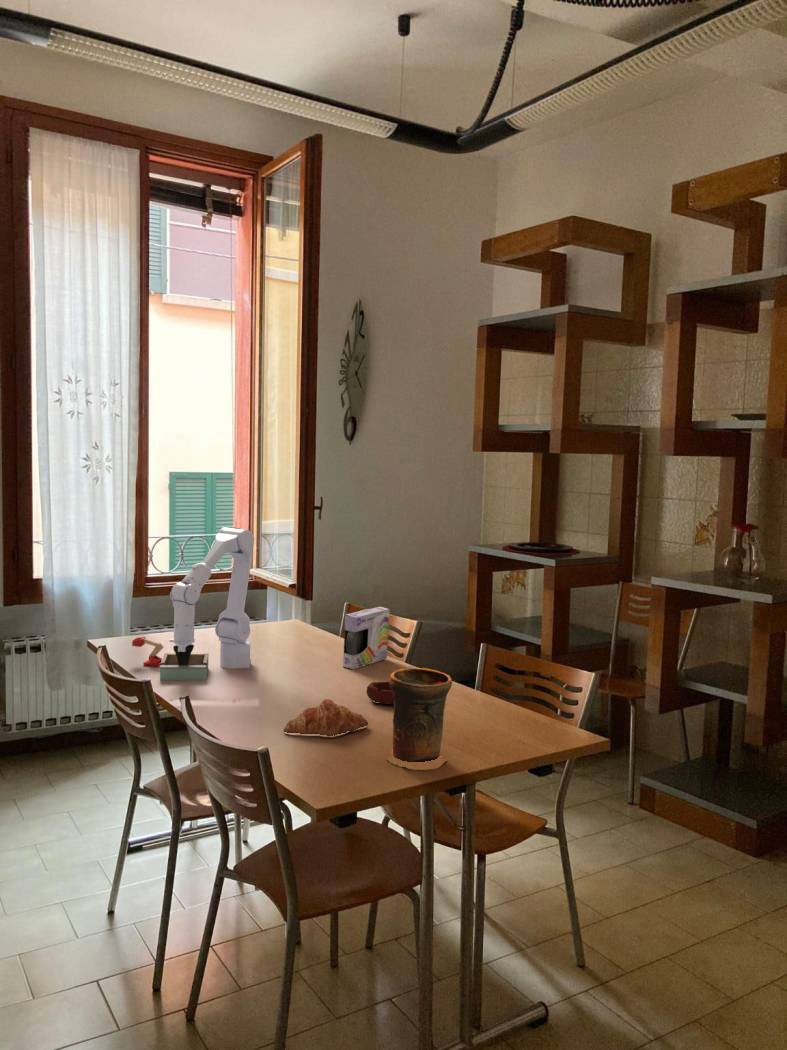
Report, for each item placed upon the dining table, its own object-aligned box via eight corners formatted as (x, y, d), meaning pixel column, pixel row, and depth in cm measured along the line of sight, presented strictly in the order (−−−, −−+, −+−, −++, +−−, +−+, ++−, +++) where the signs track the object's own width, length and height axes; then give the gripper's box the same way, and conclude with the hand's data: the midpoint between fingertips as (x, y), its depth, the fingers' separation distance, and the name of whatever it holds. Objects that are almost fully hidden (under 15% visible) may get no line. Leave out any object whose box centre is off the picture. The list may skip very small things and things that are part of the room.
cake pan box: (351, 670, 273) (353, 616, 271) (339, 667, 276) (341, 613, 274) (388, 660, 288) (390, 608, 286) (376, 657, 291) (378, 605, 289)
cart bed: (208, 672, 263) (208, 653, 263) (206, 682, 253) (206, 662, 252) (164, 672, 261) (164, 653, 261) (160, 682, 251) (160, 662, 250)
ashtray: (407, 715, 232) (408, 697, 231) (360, 702, 241) (361, 685, 241) (444, 701, 246) (445, 684, 245) (399, 689, 256) (399, 673, 255)
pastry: (333, 747, 205) (334, 715, 204) (280, 734, 212) (281, 703, 212) (369, 728, 220) (370, 698, 219) (319, 717, 227) (320, 687, 226)
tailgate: (206, 678, 253) (206, 665, 251) (205, 680, 252) (206, 667, 250) (160, 678, 250) (160, 665, 249) (160, 680, 249) (159, 667, 248)
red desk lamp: (174, 672, 263) (175, 641, 262) (131, 669, 264) (131, 638, 263) (178, 669, 266) (179, 639, 265) (135, 666, 267) (136, 636, 266)
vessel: (427, 744, 209) (431, 664, 207) (458, 766, 197) (464, 681, 194) (374, 752, 202) (378, 669, 200) (403, 776, 190) (408, 688, 187)
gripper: (172, 618, 256) (171, 663, 257) (167, 629, 241) (166, 677, 243) (196, 619, 257) (195, 663, 258) (193, 629, 243) (192, 677, 244)
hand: (183, 670), depth 251 cm, fingers closed, pressing on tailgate
